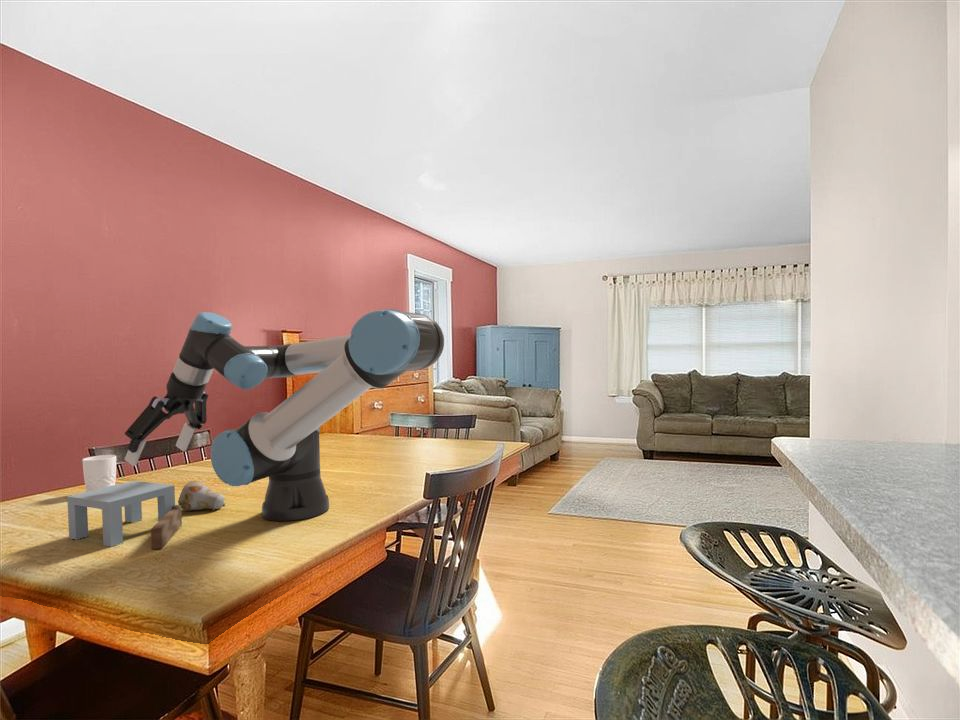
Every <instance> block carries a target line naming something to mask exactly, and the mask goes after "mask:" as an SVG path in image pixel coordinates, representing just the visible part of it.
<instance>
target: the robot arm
mask: <svg viewBox="0 0 960 720" xmlns="http://www.w3.org/2000/svg"><path fill="white" fill-rule="evenodd" d="M232 329H233V325H232V323H231V321H230V320H229V319H228V318H227V317H224V316H222V315H220V314H218V313H214V312H208V311H203V312H199V313H198V314H197V315H196V317H195V318H194V320H193V322H192V323H191V325H190V327H189V330H188V333H187V336H186V338H185V341H184V342H183V346H182V348H181V350H180V353H179V355H178V358H177V360H176V363H175V365H174V367H173V369H172V372H171V374H170V376H169V378H168V381H167V382H166V394H165V396H163V398H159V397H158V396H153V397H152V398H151V399H150V402H149V403H148V405H147V406H146V408H145V409H144V410H143V411H142V412H141V413H140V414H139V415H138V417H137V418H136V419H135V420H134V422H132V424H131V425H130V426H129V427H128V429H127V430H126V431H125V432H124V435H125V436H126V437H127V438H129V439H130V441H129V444H128V446H127V452H126V455H125V457H124V460H125V462H127V463H128V464H129V465H131V466H132V467H135V466H137V464H138V462H139V460H140V457H141V455H142V452H143V450H144V448H145V446H146V443H147V440H146V438H147V437H148V436H149V435H150V434H151V433H153V432H154V431H155V430H156V429H158V427H159V426H160V425H161V424H163V422H164V421H165V420H169V419H171V418H172V417H173V416H176V415H180V414H181V415H182V414H184V415H185V417H186V419H187V422H185V423H184V425H183V427H182V430H181V431H180V434H179V436H178V438H177V440H176V443H175V447H177V448H178V449H180V451H182V452H185V451H187V449H188V446H189V444H190V442H191V441H192V438H193V436H194V434H195V432H196V430H201V429H202V427H203V425H205V424H206V423H207V421H208V420H207V401H208V398H209V394H208V393H206V392H205V390H206V388H207V385H208V382H210V379H211V377H212V375H213V372H214V370H215V371H217V373H219V374H220V375H221V376H222V377H224V379H226V380H227V382H229V383H232V384H233V385H235V386H237V388H239V389H241V390H245V391H248V390H253V388H254V387H258V386H259V385H261V383H262V382H263V381H265V379H274V378H290V377H293V376H294V377H295V376H301V375H309V374H316V375H315V376H314V377H312V378H311V379H310V380H308V381H307V382H305V384H304V385H302V386H301V387H299V388H298V389H297V390H295V392H293V393H292V394H291V395H290V396H288V397H287V398H286V399H285V400H283V401H282V402H281V403H280V404H279V405H277V406H276V407H274V409H272V410H271V411H270V412H267V411H262V412H258V413H256V414H255V415H253V416H252V417H250V418H249V419H248V420H247V421H246V422H244V423H243V424H242V425H240V426H238V427H237V428H234V429H226V430H225V431H222V432H220V433H218V434H217V435H216V436H215V437H214V439H213V440H212V443H211V445H210V446H211V447H210V462H211V467H212V469H213V471H214V473H215V474H216V476H217V477H218V479H219V480H220V481H221V482H222V483H223V484H226V485H227V486H230V487H240V486H247V485H249V484H251V483H254V482H257V481H260V480H263V479H266V478H268V485H267V488H266V492H265V496H264V501H263V503H262V505H261V517H262V518H263V519H265V520H269V521H275V522H276V521H278V522H285V521H286V522H288V521H298V520H304V519H309V518H313V517H317V516H319V515H322V514H324V513H326V512H327V511H328V510H329V509H330V497H329V496H328V494H327V493H326V489H325V486H324V482H323V479H322V477H321V453H320V452H321V451H320V448H321V447H320V446H321V445H320V434H321V431H320V427H321V426H323V425H324V424H325V423H326V422H328V421H330V419H332V418H333V417H335V416H336V415H337V414H338V413H340V412H342V410H344V409H345V408H346V407H347V406H349V405H350V404H352V403H353V402H354V401H356V400H357V399H358V398H360V397H361V396H362V395H364V394H365V393H366V392H367V391H369V390H370V389H376V390H383V389H384V388H386V387H387V386H389V385H390V384H391V383H393V382H394V381H395V380H397V379H398V378H399V377H401V376H403V374H405V373H406V372H412V371H420V370H424V369H427V368H429V367H431V366H433V365H434V364H435V363H436V362H437V361H438V360H439V359H440V357H441V355H442V353H443V351H444V347H445V336H444V333H443V331H442V328H441V327H440V325H439V323H438V322H437V321H435V319H434V318H432V317H430V316H428V315H426V314H423V313H419V312H417V313H416V312H410V311H409V312H406V311H401V310H397V309H390V308H389V309H388V308H386V309H385V308H384V309H377V310H373V311H370V312H368V313H365V314H364V315H362V316H361V317H360V318H359V319H358V320H357V321H356V322H355V324H354V325H353V327H352V328H351V330H350V334H349V335H348V334H347V335H342V336H335V337H327V338H322V339H315V340H307V341H302V342H296V343H288V344H280V345H268V346H267V345H243V344H241V342H239V341H237V340H236V339H235V338H233V337H232V336H231V335H230V334H231V333H232V332H231V331H232Z"/></svg>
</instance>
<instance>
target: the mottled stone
mask: <svg viewBox="0 0 960 720" xmlns="http://www.w3.org/2000/svg"><path fill="white" fill-rule="evenodd" d="M225 499H226V498H225V496H224V494H222V493H219V492H215V491H213V490H212V489H211V488H210V487H208V486H207V485H205V484H204V483H202V482H200V481H197V480H191V481H189V482H187V483H185V485H184V486H183V487H182V490H181V492H180V494H179V497H178V500H177V503H178V504H177V505H181V510H184V511H187V512H192V511H191V510H195V511H201V510H208V509H209V510H213V509H214V511H216V510H215V509H218V510H220V509H221V508H222V507H223V505H225V504H226V502H225V501H226V500H225ZM225 506H226V505H225ZM219 508H220V509H219Z"/></svg>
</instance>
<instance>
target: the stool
mask: <svg viewBox="0 0 960 720" xmlns="http://www.w3.org/2000/svg"><path fill="white" fill-rule="evenodd" d="M175 490H176V489H175V485H173V484H167V483H166V484H165V483H157V482H148V481H140V480H131V481H127V482H126V481H125V482H123V483H118V484H115V485H114V486H109V487H105V488H101V489H97V490H92V491H88V492H86V491H84V492H81V493H77V494H73V495H72V494H71V495H68V496H67V498H66V499H67V502H66V503H67V517H68V518H67V520H68V539H69V540H72V539H75V540H74V541H78V540H81V539H80V538H82V539H84V538H83V537H85V538H87V536H88V537H89V521H88V520H89V519H88V508H91V509H97V510H98V509H99V510H101V516H102V517H101V518H102V519H101V520H102V541H103V542H102V543H103V546H104V547H108V546H110V547H109V548H113V547H115V546H114V545H116V546H118V545H117V544H119V545H121V544H120V543H122V544H124V531H123V530H124V529H123V527H124V526H123V508H124V522H125V521H127V522H126V523H128V522H134V523H136V522H135V521H137V522H139V521H138V520H140V521H142V520H143V512H142V511H143V510H142V508H143V507H142V506H143V505H142V502H145V501H148V500H152V499H156V498H157V516H158V517H157V523H158V522H159V521H160V520H161V519H162V518H163V517H164V516H165V515H166V514H167V513H168V512H169V511H170V510H171V509H172V506H174V505H176V492H175ZM141 519H142V520H141ZM77 539H78V540H77ZM112 546H113V547H112Z"/></svg>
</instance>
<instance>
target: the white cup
mask: <svg viewBox="0 0 960 720" xmlns="http://www.w3.org/2000/svg"><path fill="white" fill-rule="evenodd" d="M81 460H82V471H83V479H84V485H85V492H88V491H92V490H97V489H101V488H105V487H109V486H114V485H116V480H117V455H115V454H103V455H94V456H93V455H92V456H88V457H85V458H82V459H81Z"/></svg>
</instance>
